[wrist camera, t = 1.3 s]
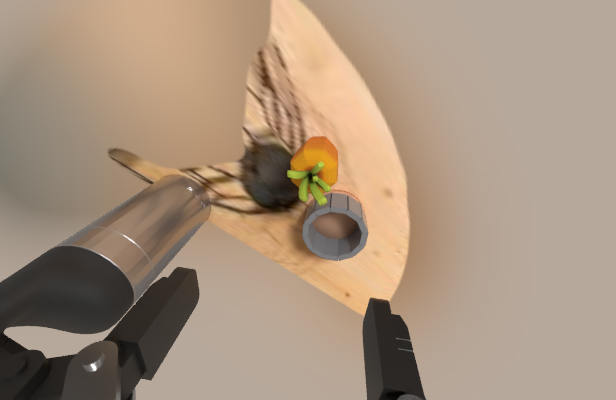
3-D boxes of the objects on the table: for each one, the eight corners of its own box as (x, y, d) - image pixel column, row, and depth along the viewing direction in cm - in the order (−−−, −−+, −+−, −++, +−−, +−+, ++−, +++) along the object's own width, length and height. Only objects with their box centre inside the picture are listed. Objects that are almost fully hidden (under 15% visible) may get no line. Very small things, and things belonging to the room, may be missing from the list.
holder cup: (320, 245, 42) (318, 266, 38) (297, 201, 39) (291, 219, 34) (372, 229, 40) (376, 250, 35) (352, 181, 36) (353, 198, 32)
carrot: (296, 132, 34) (267, 176, 21) (332, 117, 33) (325, 155, 19) (311, 166, 36) (293, 226, 23) (346, 153, 35) (347, 209, 21)
